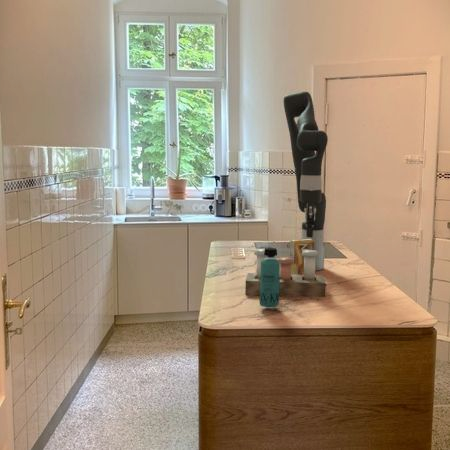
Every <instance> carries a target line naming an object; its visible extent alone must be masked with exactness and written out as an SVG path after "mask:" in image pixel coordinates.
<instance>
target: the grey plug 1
mask: <svg viewBox="0 0 450 450" xmlns="http://www.w3.org/2000/svg"><path fill="white" fill-rule="evenodd" d="M264 251H265V249H260V248H256V249H254V255H255V256H256V272H255V273H256V279H260V273H261V261H262V260H263V259H264V258H268V256H266V255H264Z"/></svg>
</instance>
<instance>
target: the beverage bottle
mask: <svg viewBox="0 0 450 450" xmlns="http://www.w3.org/2000/svg"><path fill="white" fill-rule="evenodd" d="M264 255H266V256H275V258H264V259H263V260H262V261H261V273H260V295H259V298H258V299H259V301H258V302H259V306H261V307H263V308H278V307H279V305H280V296H279V286H280V262H279V261H278V258H276V256H277V255H278V249H277V248H275V247H273V248H265V251H264Z"/></svg>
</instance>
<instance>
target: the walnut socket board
mask: <svg viewBox="0 0 450 450" xmlns="http://www.w3.org/2000/svg"><path fill="white" fill-rule="evenodd" d="M244 292H245V293H244V295H252V296H260V279H256V272H254V273H253V272H252V273H251V272H250V273H249V272H248V273H247V275H246V279H245V291H244ZM326 295H327V282H326V279H325V276H324V274H323V275H322V274H315V281H313V280H304V275H296V274H291V280H280V286H279V297H280V296H281V297H306V298H307V297H308V298H326V297H327V296H326Z"/></svg>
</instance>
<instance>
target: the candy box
mask: <svg viewBox="0 0 450 450" xmlns="http://www.w3.org/2000/svg"><path fill="white" fill-rule="evenodd" d="M289 242H290V243H289V244H290V245H289V246H290V247H289V248H290V249H289V258H293V259H294V263H293V264H291V274H296V275H304V256H302V251H303V250H314V240H312V239H302V238H301V239H290V241H289Z"/></svg>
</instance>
